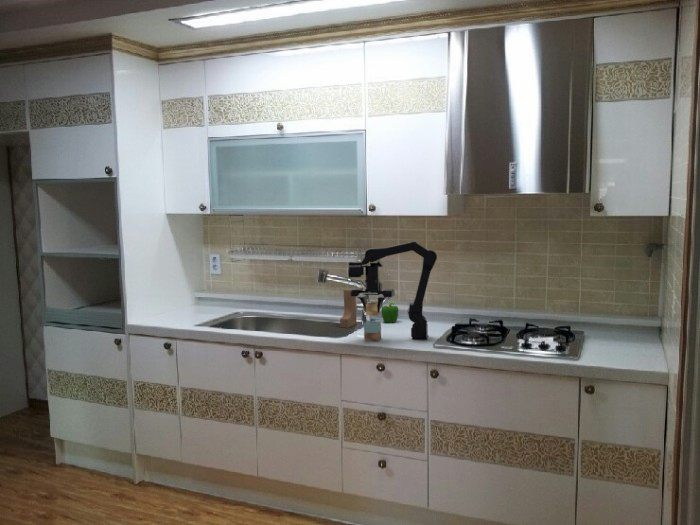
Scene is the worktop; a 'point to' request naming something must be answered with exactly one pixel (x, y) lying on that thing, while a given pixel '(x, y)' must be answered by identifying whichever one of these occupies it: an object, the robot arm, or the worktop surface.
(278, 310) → the worktop surface
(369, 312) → the oak cube
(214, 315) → the worktop surface
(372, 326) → the top block
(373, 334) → the base block
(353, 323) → the wooden block
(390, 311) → the bell pepper
